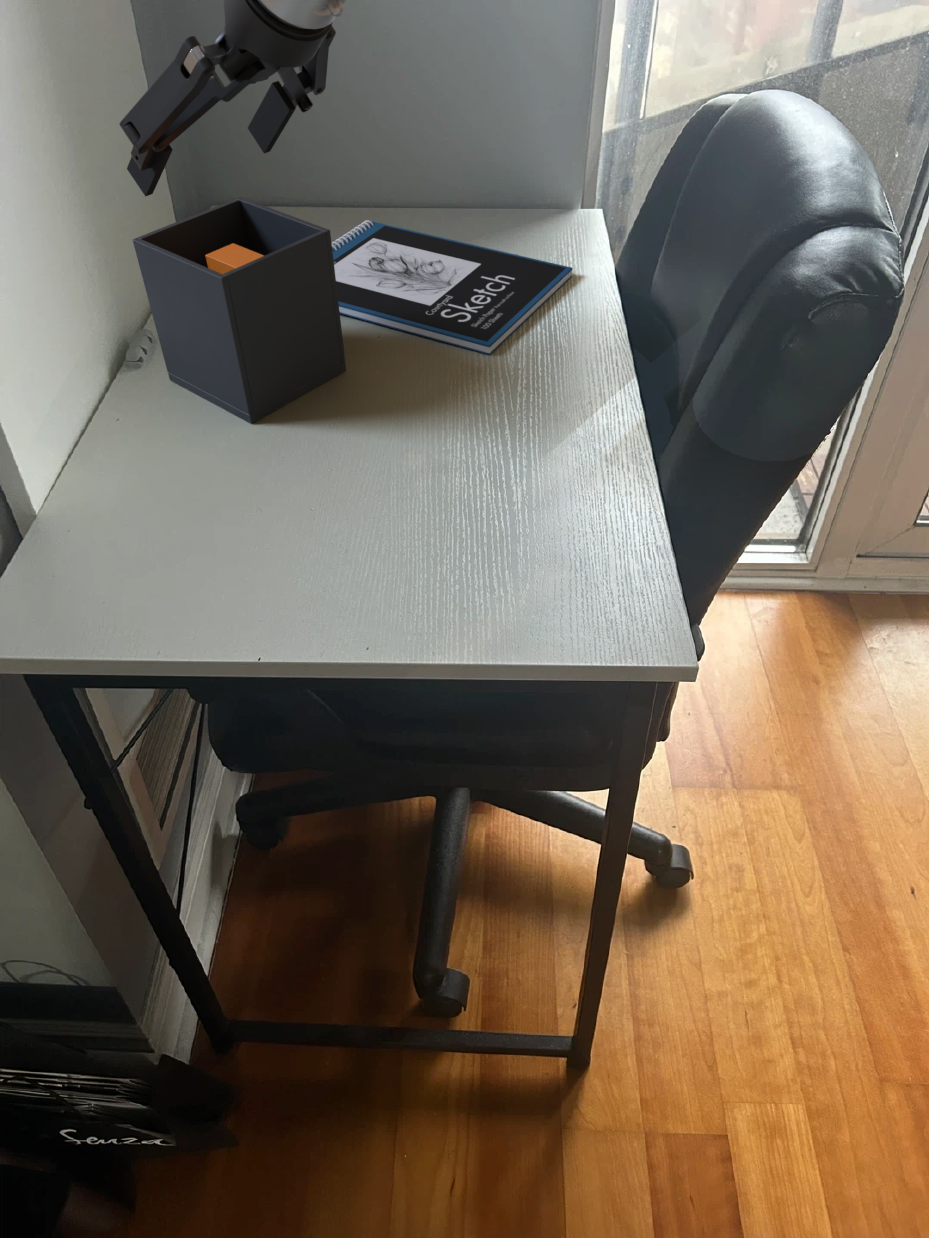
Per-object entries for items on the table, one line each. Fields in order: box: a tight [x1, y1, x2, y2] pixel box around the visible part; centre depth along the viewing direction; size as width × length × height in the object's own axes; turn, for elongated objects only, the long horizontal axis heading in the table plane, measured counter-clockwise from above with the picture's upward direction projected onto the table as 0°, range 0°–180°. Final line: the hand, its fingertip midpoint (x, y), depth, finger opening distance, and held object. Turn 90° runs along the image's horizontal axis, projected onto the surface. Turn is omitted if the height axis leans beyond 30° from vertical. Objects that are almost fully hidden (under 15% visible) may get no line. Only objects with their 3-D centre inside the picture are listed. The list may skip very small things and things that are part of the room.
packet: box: [205, 243, 264, 274], centre depth 95 cm, size 4×5×12 cm
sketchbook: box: [331, 219, 574, 356], centre depth 113 cm, size 22×30×2 cm
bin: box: [132, 196, 347, 424], centre depth 94 cm, size 13×13×15 cm
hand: (201, 160), depth 86 cm, fingers open, 13 cm apart
